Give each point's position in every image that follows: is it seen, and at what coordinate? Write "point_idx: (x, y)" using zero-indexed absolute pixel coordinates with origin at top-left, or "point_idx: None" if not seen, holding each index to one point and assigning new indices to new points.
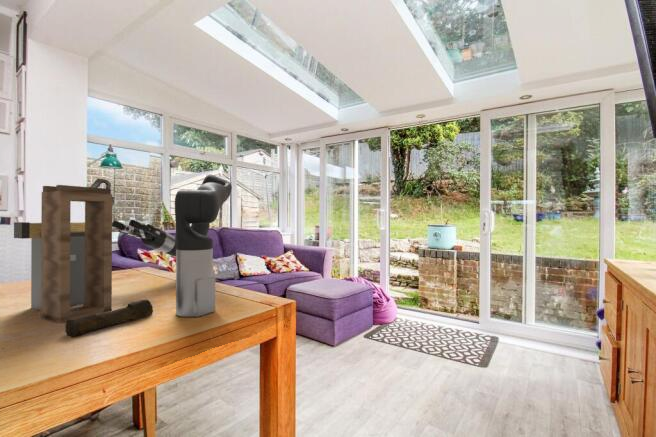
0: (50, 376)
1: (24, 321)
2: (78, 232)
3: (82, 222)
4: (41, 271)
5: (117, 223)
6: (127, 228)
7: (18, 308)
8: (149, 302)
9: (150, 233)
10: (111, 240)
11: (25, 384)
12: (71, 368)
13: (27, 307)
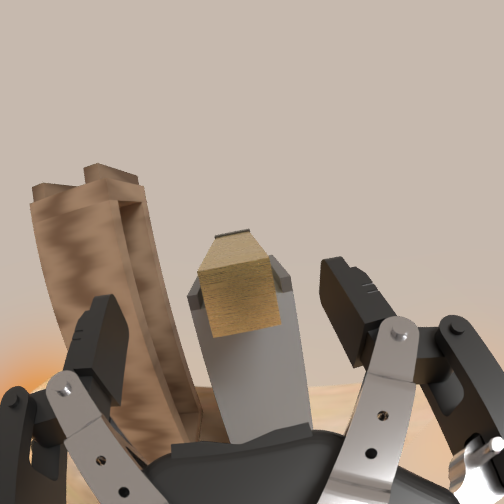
0: (50, 378)
1: (207, 398)
2: (192, 286)
3: (244, 248)
4: (179, 340)
5: (332, 291)
6: (461, 384)
7: (315, 396)
8: (31, 448)
9: (58, 492)
10: (60, 329)
11: (57, 372)
12: (45, 384)
13: (311, 404)
